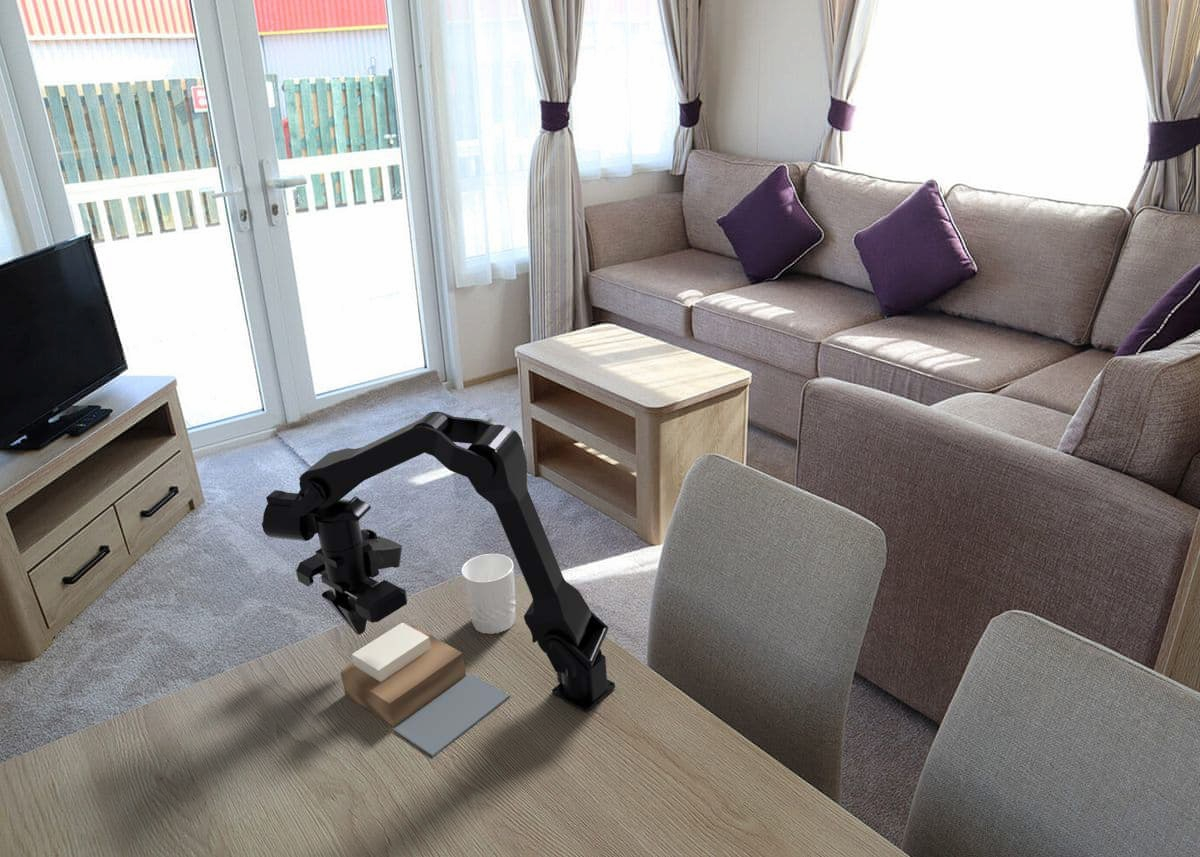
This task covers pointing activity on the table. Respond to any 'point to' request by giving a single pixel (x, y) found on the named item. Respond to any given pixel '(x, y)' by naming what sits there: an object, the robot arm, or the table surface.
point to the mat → (451, 714)
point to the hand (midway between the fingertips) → (360, 632)
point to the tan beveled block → (406, 682)
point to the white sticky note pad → (391, 651)
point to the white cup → (490, 592)
